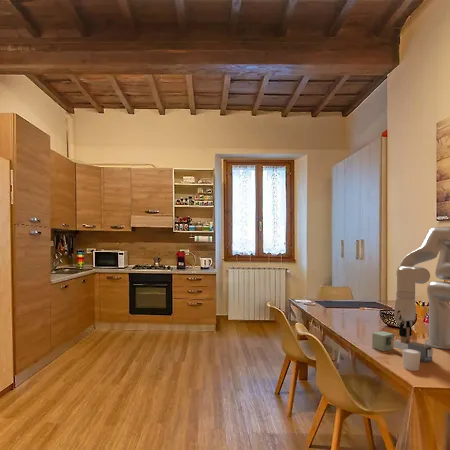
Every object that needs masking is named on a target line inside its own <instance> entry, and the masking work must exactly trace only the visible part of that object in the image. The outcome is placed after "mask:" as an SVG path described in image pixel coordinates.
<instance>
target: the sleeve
mask: <svg viewBox="0 0 450 450" xmlns="http://www.w3.org/2000/svg"><path fill="white" fill-rule="evenodd" d="M427 348H431V349H433V347H432V346H429V345H426V344H425V343H420V342H417V341H410V343H408V349H413V350H417V351H420V352H421V355H420V362H421V363H423V364H425V363H428V362H432V361H433V356H431V357H427V356H426V349H427Z"/></svg>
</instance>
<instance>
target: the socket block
mask: <svg viewBox="0 0 450 450" xmlns="http://www.w3.org/2000/svg"><path fill="white" fill-rule="evenodd" d="M371 337H372V340H371V341H372V344H371V347H372V349H374V350H379V351H381V352H386V351H390V350H394V349H395V347H391V340H393V339H395V333H391V332H387V331H384V330H382V331H376V332H372V334H371Z"/></svg>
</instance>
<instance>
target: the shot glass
mask: <svg viewBox="0 0 450 450" xmlns="http://www.w3.org/2000/svg"><path fill="white" fill-rule="evenodd" d="M401 353H402V354H401V355H402V365H403V369H405V370H407V371H414V372H417V371H419V370H420V355H421V352H420V351H417V350H413V349H403V350H402V349H401Z"/></svg>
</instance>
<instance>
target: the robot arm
mask: <svg viewBox="0 0 450 450" xmlns="http://www.w3.org/2000/svg"><path fill="white" fill-rule="evenodd" d="M438 255H439V256H438ZM437 257H438V259H437V264H436V266H435V267H436V268H435V272H434V274H435V277H436V278H437V279H439V281H438V280H437V281H436V280H433V281H431V282H429V280H430V279H431V273H430V271H429V269H426V268H425V267H422V266H421V267H420V266H416V265H419V264H421V263H426V262H429V261H433V260H434V259H436V258H437ZM396 280H397V281H396V298H395V303H394V312H393V313H394V315H393V317H394V320H395V323H396V324H397V325H398V327H399V330H398V332H399V333H398V336H400V337H401V336H402V337H407V328H406V326H407V327H410V337H412V335H413V334H412V330H413V329H412V328H413V323H414V321H415V320H416V314H417V310H416V307H417V306H416V284H418V285H421V284H422V285H424V284H426V283H427V282H429V283H428V284H427V287H426V294H427V299H428V339H427V340H425V341H424V344H425V345H429V346H432V348H437V349H441V350H443V349H444V350H450V305H449V304H448V303H450V226H435V227H432V228H430V229H429V230H428V231H427V233H426V235H425V236H424V238H423V240H422V241H421V243H420V246H419V247H418V248H417V249H414V250H413V251H411V252H410V253H408V254H407V255H405V256H404V257H403V258H402V260H401V261H400V263H399V265H398V266H397V269H396ZM440 280H441V281H440ZM442 280H443V281H442Z"/></svg>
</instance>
